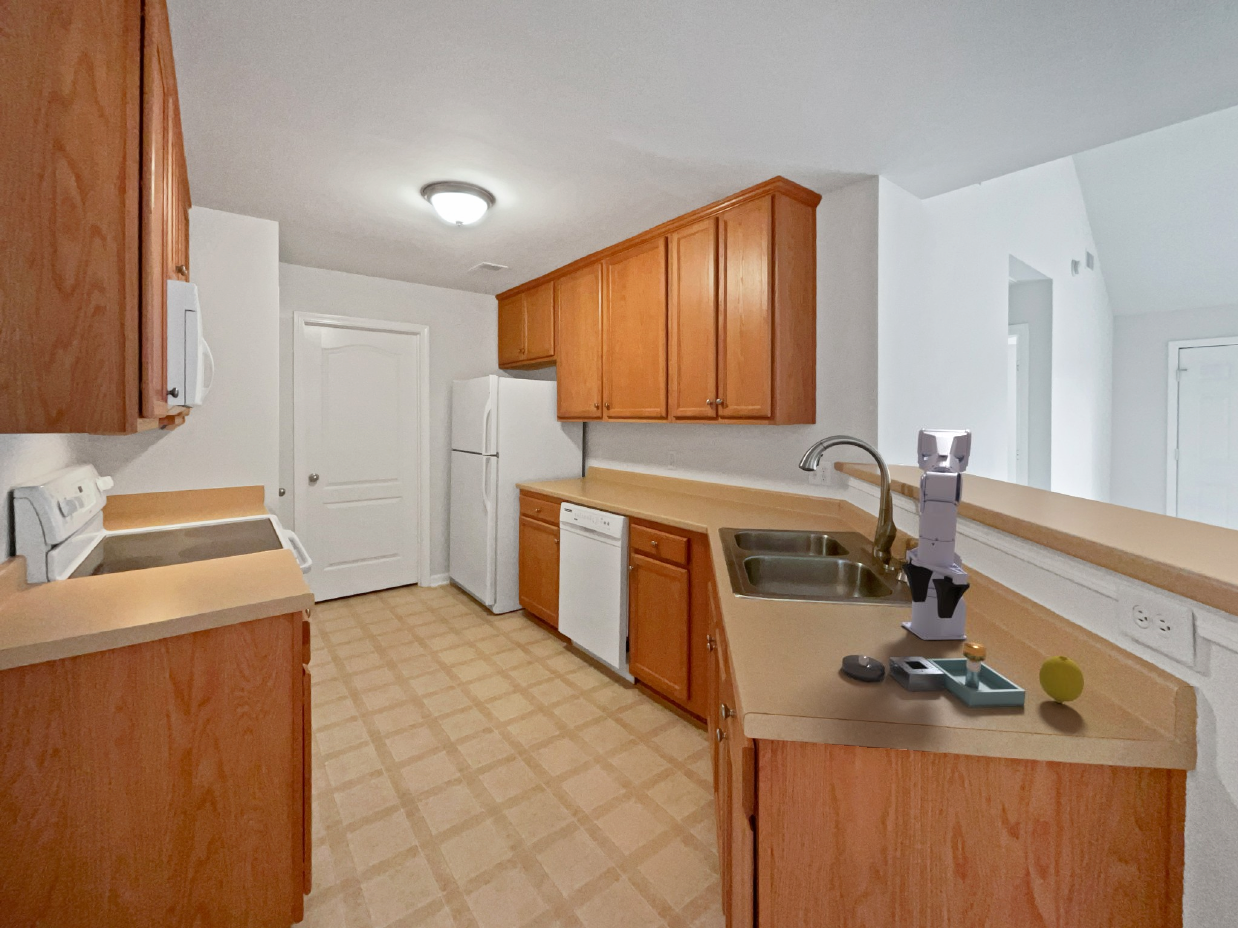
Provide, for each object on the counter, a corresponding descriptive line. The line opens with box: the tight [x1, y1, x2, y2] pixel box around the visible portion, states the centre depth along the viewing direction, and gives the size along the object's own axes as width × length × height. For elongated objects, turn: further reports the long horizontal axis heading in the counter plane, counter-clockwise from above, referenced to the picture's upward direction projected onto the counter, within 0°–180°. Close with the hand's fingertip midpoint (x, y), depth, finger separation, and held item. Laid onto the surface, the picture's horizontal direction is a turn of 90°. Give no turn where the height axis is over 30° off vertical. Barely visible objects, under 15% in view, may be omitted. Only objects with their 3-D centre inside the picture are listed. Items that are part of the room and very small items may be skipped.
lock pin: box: [962, 641, 987, 689], centre depth 91 cm, size 3×3×7 cm
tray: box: [925, 657, 1026, 708], centre depth 91 cm, size 9×11×2 cm
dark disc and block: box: [841, 654, 944, 692], centre depth 95 cm, size 14×10×3 cm
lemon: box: [1039, 654, 1085, 704], centre depth 86 cm, size 6×6×8 cm
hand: (931, 609), depth 99 cm, fingers open, 7 cm apart
